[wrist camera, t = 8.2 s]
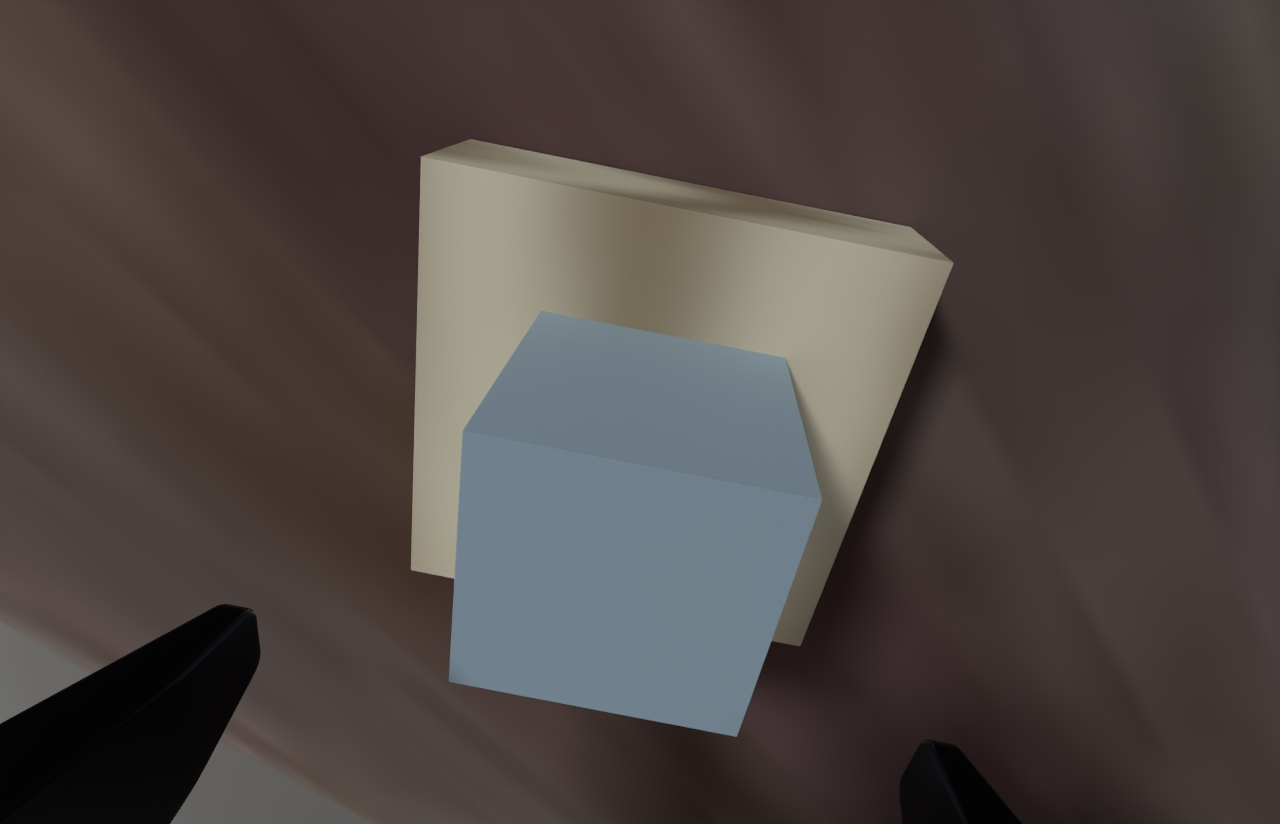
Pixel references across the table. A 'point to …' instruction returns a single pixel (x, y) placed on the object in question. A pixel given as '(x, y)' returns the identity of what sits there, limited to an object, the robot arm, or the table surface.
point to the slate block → (629, 523)
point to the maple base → (660, 311)
